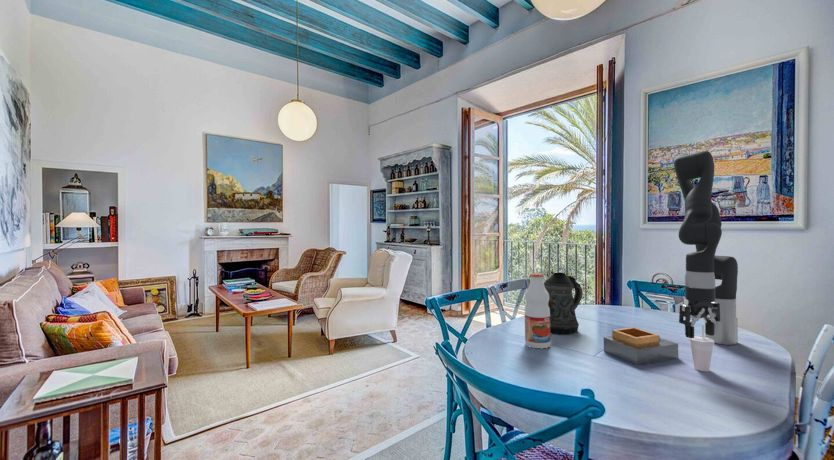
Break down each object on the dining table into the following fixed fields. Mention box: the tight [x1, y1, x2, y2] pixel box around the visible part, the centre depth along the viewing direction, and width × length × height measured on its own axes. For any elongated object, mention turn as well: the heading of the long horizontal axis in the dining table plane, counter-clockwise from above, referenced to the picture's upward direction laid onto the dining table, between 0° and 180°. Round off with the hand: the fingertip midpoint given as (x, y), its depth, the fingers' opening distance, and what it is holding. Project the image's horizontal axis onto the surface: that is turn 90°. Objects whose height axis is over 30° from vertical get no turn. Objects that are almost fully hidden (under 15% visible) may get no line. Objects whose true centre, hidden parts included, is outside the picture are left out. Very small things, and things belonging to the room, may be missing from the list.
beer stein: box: [543, 272, 583, 336], centre depth 157 cm, size 16×19×25 cm
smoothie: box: [688, 324, 715, 372], centre depth 111 cm, size 6×6×14 cm
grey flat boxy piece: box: [603, 326, 679, 366], centre depth 125 cm, size 21×14×8 cm, turn 106°
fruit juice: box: [524, 272, 552, 350], centre depth 136 cm, size 9×9×28 cm
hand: (699, 336), depth 111 cm, fingers open, 8 cm apart
